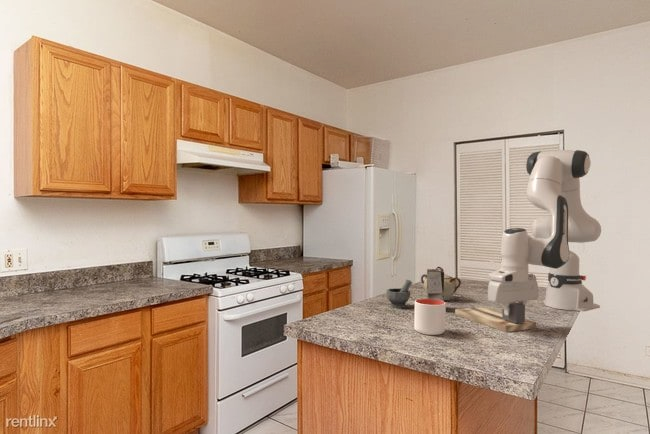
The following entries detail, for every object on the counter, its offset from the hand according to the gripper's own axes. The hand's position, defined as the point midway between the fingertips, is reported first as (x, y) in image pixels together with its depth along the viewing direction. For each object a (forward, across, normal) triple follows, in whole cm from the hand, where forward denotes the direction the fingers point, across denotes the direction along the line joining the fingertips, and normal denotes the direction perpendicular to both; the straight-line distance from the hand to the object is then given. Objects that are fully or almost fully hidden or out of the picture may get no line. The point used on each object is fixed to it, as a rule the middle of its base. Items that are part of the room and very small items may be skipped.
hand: (513, 314), depth 139 cm
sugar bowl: (+5, -6, -48) cm, 48 cm away
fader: (+2, 0, 0) cm, 2 cm away
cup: (+5, +31, -6) cm, 32 cm away
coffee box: (+5, +9, -32) cm, 33 cm away
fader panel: (+5, 0, -9) cm, 10 cm away
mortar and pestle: (+5, +21, -40) cm, 45 cm away
